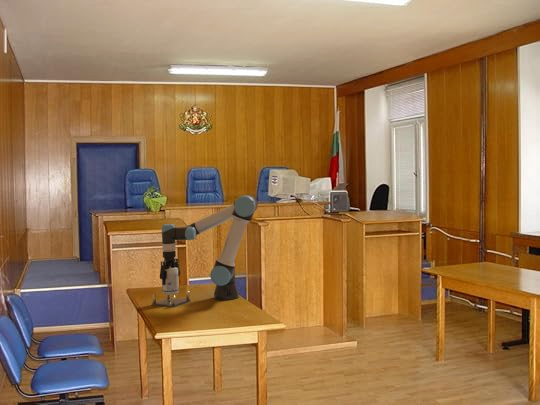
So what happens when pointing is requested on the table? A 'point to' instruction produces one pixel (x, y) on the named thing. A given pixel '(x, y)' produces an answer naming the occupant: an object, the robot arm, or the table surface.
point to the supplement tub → (171, 281)
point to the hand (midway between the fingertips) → (170, 288)
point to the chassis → (171, 300)
